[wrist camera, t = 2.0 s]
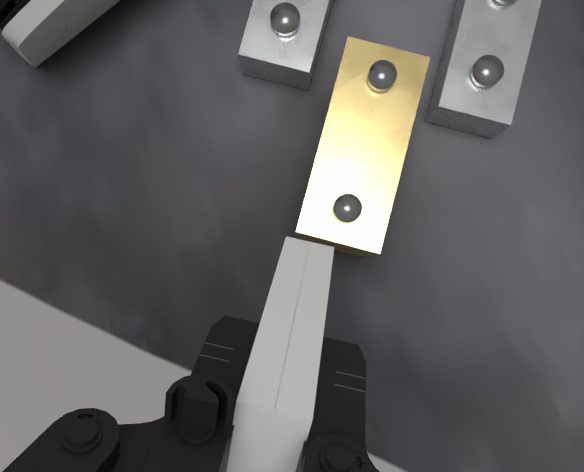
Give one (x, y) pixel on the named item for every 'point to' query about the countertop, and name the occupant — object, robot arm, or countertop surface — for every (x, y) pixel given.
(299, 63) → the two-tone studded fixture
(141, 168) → the countertop surface
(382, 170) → the gold studded block
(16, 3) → the hinge
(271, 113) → the countertop surface
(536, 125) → the countertop surface
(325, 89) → the countertop surface
